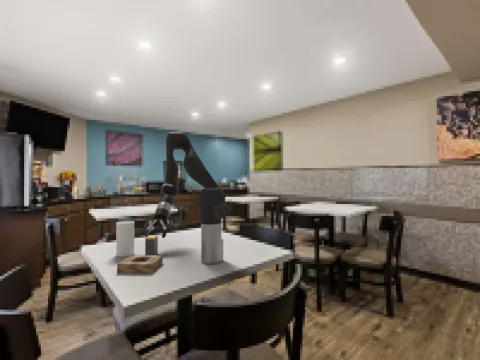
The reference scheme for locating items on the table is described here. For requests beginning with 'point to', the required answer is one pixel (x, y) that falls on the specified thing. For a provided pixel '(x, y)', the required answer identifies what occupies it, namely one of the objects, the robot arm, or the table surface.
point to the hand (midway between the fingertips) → (154, 237)
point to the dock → (140, 264)
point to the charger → (151, 245)
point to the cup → (125, 238)
